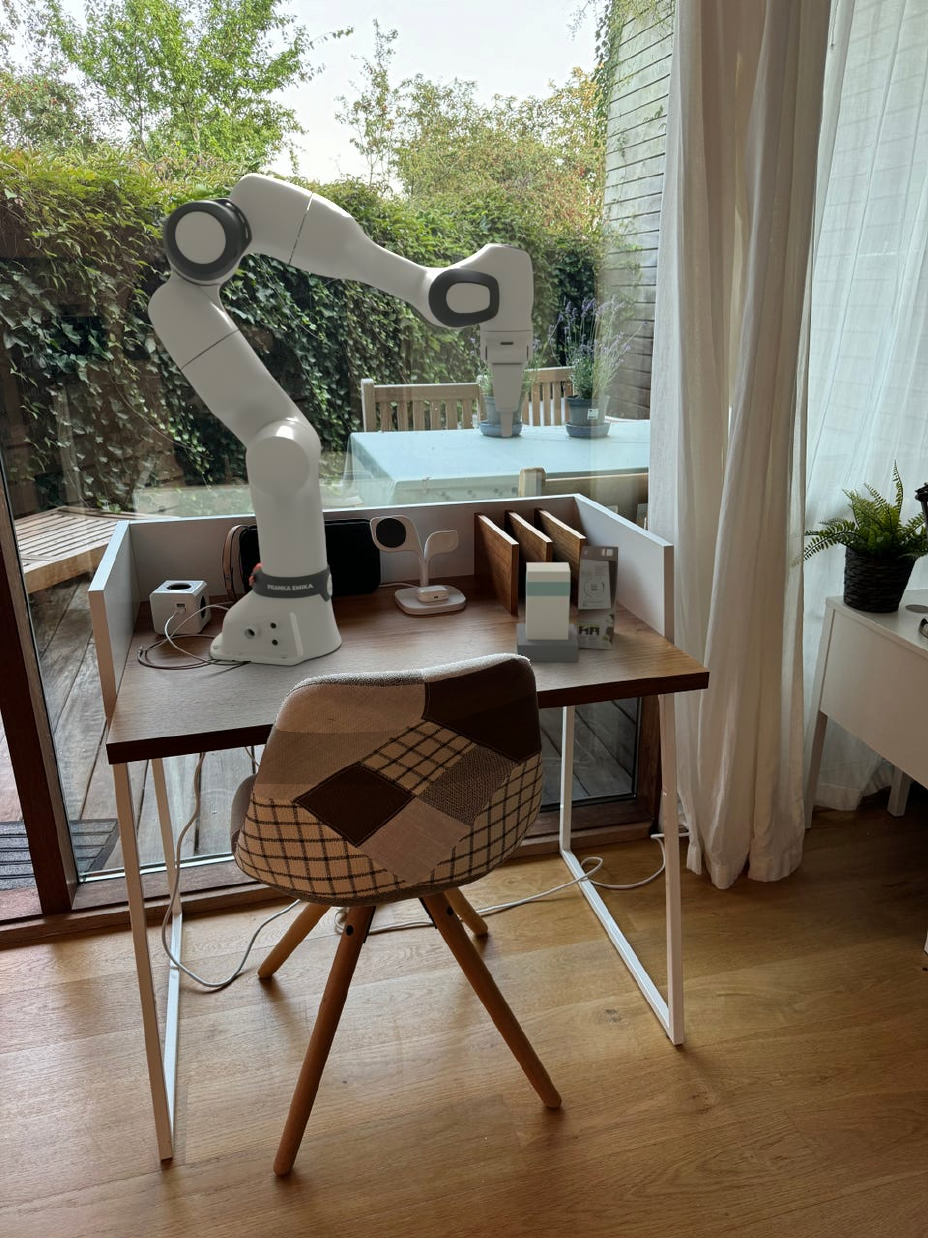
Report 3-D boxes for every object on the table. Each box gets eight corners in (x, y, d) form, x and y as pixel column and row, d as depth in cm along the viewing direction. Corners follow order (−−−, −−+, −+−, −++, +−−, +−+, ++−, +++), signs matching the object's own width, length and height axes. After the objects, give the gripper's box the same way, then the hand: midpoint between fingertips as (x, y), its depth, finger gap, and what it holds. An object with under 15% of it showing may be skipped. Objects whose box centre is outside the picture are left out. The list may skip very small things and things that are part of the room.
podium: (517, 661, 147) (517, 645, 146) (516, 639, 156) (516, 623, 155) (577, 661, 146) (578, 645, 145) (572, 639, 156) (573, 623, 155)
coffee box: (612, 650, 151) (617, 560, 145) (575, 648, 152) (578, 558, 146) (615, 631, 159) (619, 545, 153) (579, 629, 160) (582, 544, 155)
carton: (526, 639, 148) (527, 571, 144) (525, 628, 153) (526, 562, 148) (568, 639, 148) (570, 571, 143) (566, 628, 152) (568, 562, 148)
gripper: (488, 344, 157) (488, 423, 162) (487, 352, 138) (487, 441, 143) (523, 344, 157) (522, 423, 162) (527, 352, 138) (526, 441, 143)
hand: (506, 431), depth 152 cm, fingers open, 8 cm apart
